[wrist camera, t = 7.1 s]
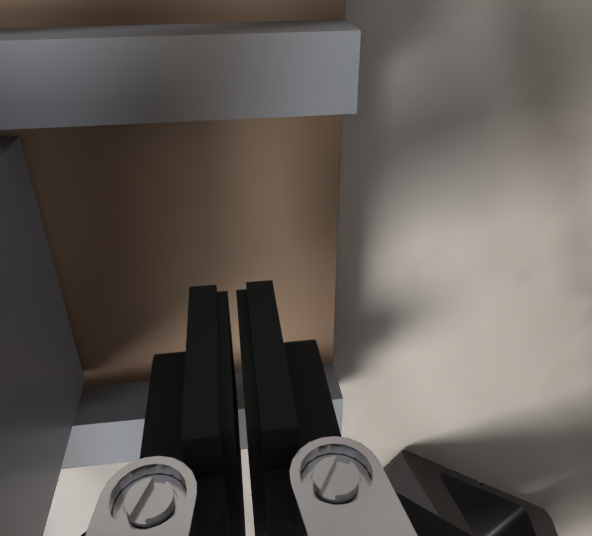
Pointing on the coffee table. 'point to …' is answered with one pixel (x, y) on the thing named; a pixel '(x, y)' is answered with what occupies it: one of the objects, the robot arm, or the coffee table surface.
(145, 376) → the anvil track
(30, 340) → the block
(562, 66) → the coffee table surface
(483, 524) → the phone stand
